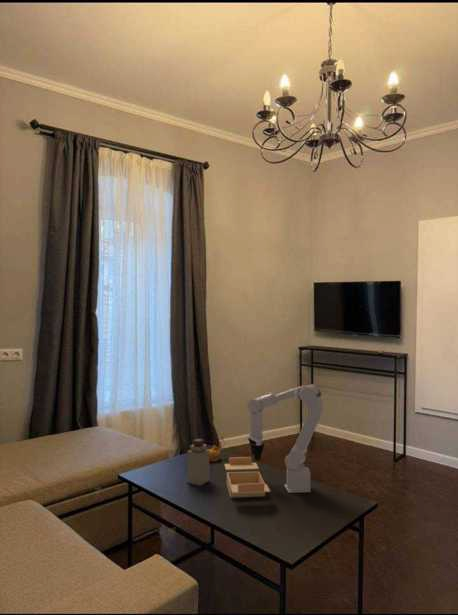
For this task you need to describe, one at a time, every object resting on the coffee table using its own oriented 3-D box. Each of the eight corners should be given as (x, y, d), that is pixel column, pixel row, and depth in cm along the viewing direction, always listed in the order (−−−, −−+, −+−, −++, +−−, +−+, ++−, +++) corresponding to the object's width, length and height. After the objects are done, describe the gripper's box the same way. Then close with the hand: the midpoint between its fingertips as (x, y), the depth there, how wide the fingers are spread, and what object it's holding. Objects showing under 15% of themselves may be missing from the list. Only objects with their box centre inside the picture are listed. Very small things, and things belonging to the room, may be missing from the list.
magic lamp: (191, 461, 216) (191, 439, 217) (221, 455, 227) (221, 433, 227) (198, 465, 211) (198, 442, 211) (229, 458, 221) (229, 436, 221)
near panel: (266, 484, 173) (266, 476, 173) (270, 491, 166) (270, 483, 166) (230, 486, 172) (230, 477, 172) (232, 493, 165) (232, 484, 165)
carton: (258, 483, 189) (259, 471, 189) (265, 496, 175) (265, 483, 175) (226, 484, 187) (226, 472, 187) (230, 497, 173) (230, 485, 174)
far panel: (256, 463, 198) (256, 456, 198) (258, 469, 191) (258, 461, 191) (224, 464, 196) (224, 457, 196) (225, 470, 189) (225, 462, 189)
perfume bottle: (209, 480, 191) (209, 439, 191) (199, 485, 185) (200, 443, 186) (196, 477, 195) (196, 437, 195) (187, 482, 189) (187, 440, 189)
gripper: (244, 422, 198) (244, 452, 198) (249, 430, 184) (249, 463, 183) (260, 421, 199) (259, 451, 198) (266, 430, 184) (266, 462, 184)
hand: (255, 457), depth 191 cm, fingers open, 7 cm apart
